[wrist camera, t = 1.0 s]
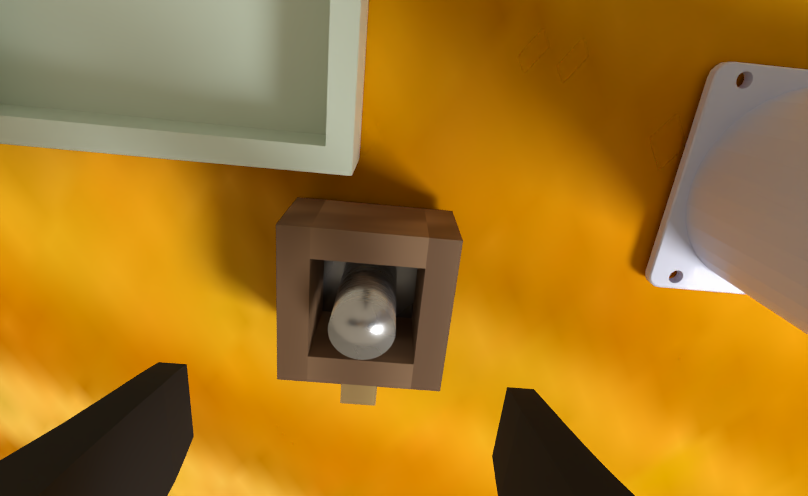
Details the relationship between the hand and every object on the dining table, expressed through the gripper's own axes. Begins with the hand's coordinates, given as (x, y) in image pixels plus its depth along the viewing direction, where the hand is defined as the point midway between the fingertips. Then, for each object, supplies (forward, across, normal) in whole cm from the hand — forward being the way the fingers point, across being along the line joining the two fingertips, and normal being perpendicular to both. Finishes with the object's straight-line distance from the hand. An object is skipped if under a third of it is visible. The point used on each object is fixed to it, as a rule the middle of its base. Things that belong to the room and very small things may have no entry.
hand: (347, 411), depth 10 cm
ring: (+7, 0, 0) cm, 7 cm away
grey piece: (+8, 0, 0) cm, 8 cm away
